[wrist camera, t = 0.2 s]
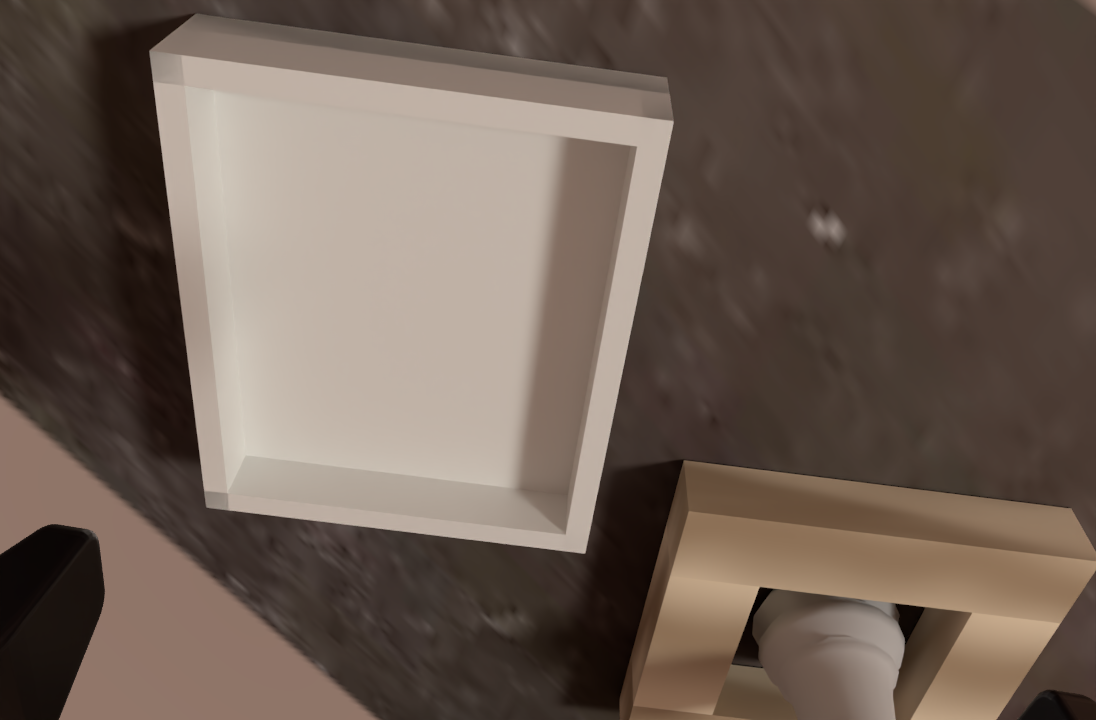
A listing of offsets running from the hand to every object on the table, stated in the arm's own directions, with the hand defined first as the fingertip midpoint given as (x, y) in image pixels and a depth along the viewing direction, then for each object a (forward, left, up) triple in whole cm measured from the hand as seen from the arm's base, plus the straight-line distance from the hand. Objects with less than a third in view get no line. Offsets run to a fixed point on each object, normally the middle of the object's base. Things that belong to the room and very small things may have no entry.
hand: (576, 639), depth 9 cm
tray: (-5, +3, -14) cm, 16 cm away
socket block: (-15, -10, -14) cm, 23 cm away
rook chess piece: (-15, -10, -15) cm, 23 cm away
